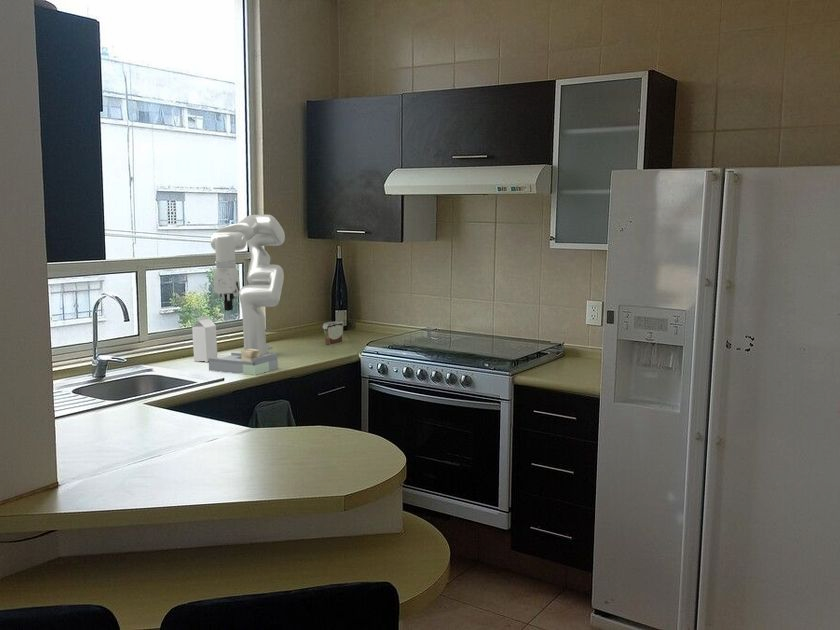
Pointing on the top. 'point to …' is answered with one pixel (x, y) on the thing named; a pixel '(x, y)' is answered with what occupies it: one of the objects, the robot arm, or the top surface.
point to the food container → (333, 332)
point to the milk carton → (204, 339)
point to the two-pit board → (244, 364)
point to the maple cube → (249, 354)
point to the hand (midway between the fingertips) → (228, 310)
